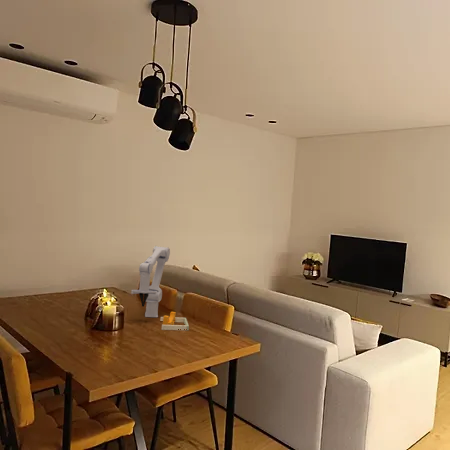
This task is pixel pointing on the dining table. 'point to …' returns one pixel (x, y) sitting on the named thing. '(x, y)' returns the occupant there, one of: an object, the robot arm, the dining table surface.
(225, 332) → the dining table surface
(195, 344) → the dining table surface
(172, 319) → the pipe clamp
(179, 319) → the bracket
